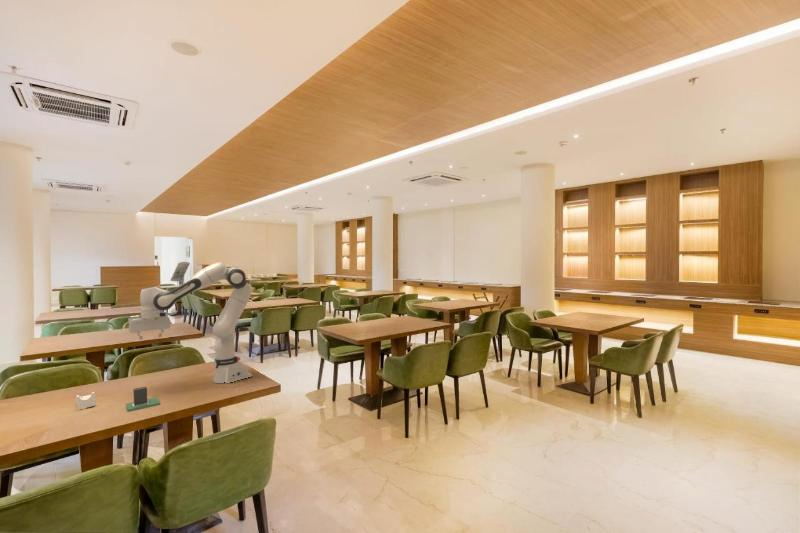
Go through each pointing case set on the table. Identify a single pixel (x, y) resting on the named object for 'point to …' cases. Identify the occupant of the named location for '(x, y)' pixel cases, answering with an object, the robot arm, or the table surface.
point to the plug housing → (140, 395)
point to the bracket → (85, 401)
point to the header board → (149, 403)
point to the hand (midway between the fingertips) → (150, 338)
